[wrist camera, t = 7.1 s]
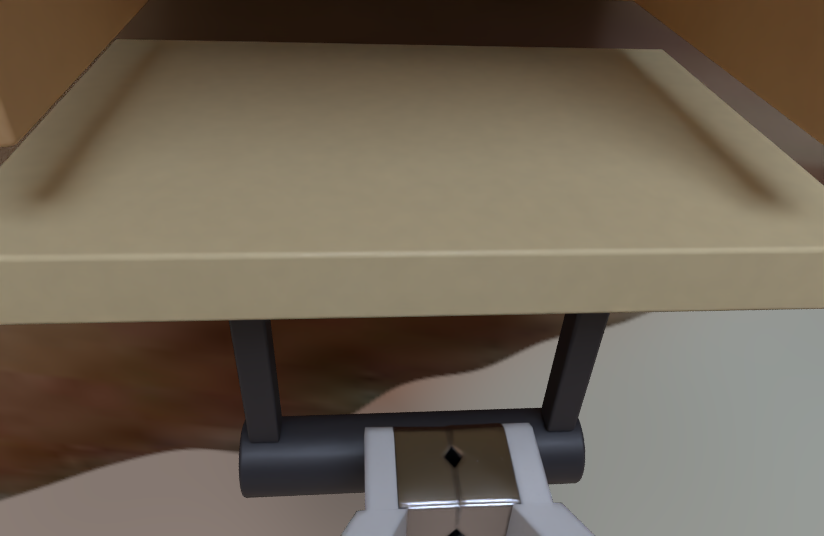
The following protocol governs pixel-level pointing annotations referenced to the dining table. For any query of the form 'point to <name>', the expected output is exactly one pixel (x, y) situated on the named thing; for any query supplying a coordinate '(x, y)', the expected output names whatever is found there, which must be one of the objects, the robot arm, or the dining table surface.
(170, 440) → the dining table surface
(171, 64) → the drawer
